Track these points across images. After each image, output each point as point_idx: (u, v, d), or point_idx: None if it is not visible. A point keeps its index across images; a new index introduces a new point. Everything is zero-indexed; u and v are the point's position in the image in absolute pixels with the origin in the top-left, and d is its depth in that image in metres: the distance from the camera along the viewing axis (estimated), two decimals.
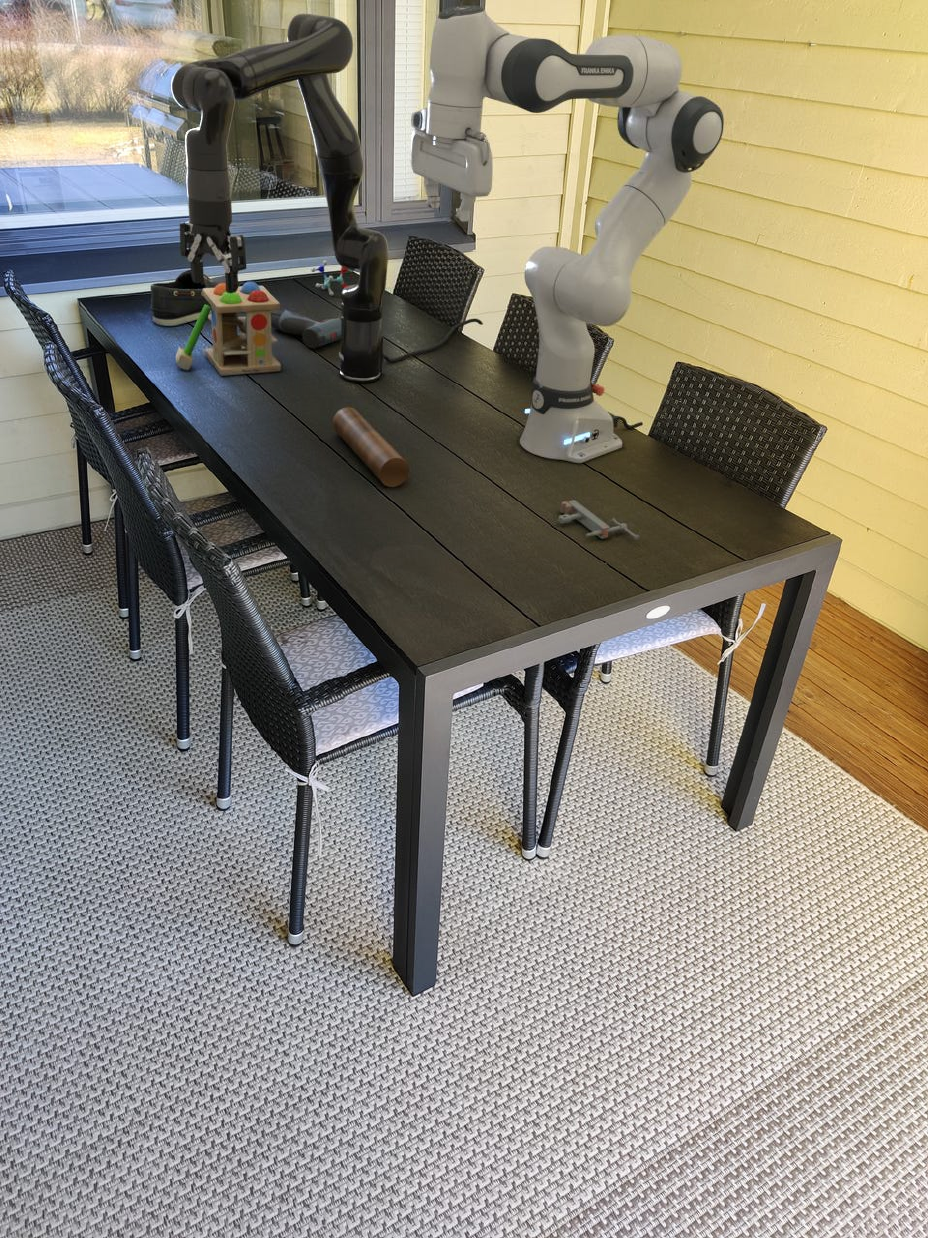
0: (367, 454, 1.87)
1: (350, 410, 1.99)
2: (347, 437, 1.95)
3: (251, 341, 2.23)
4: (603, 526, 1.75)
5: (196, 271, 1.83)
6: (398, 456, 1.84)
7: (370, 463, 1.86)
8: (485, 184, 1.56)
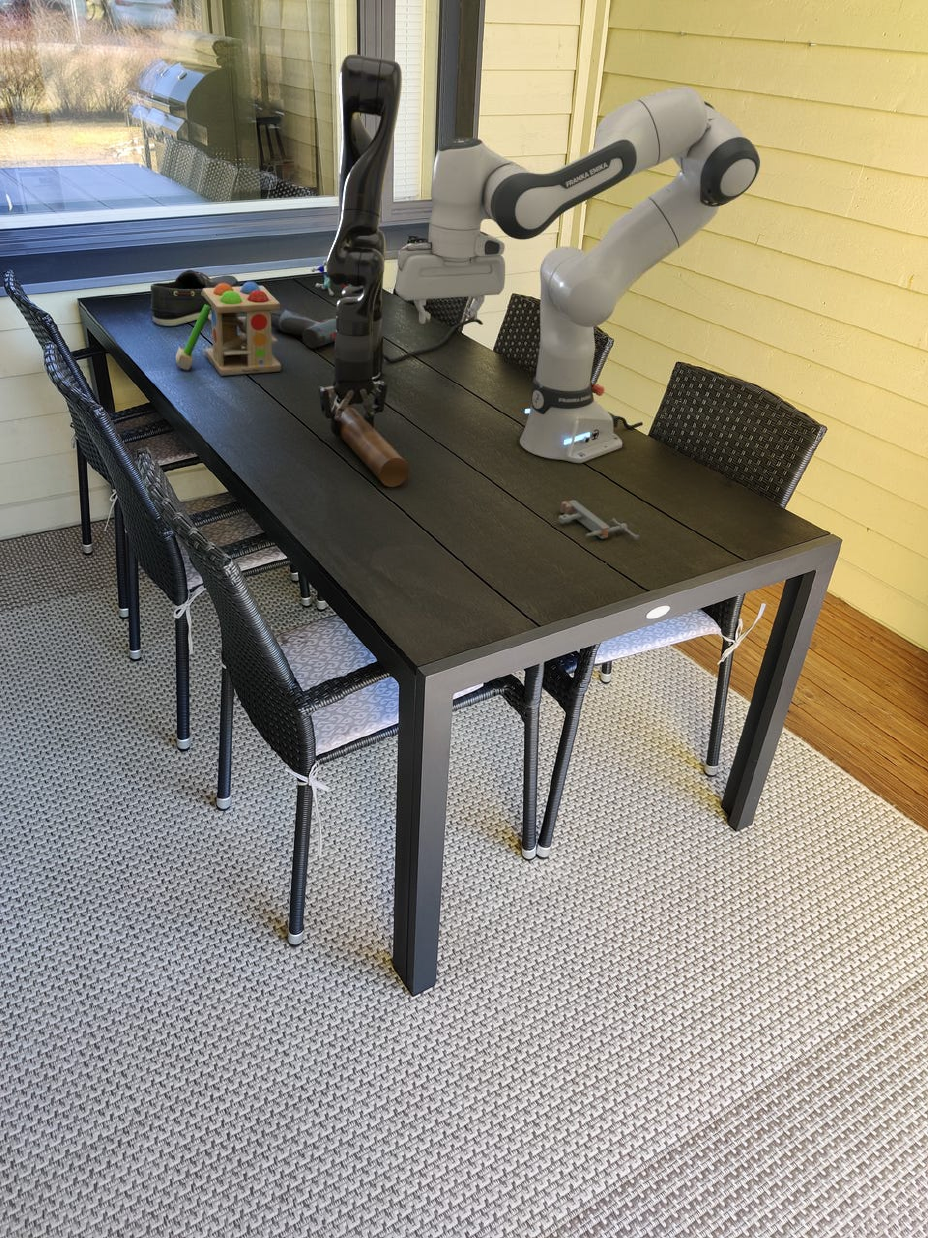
0: (367, 454, 1.87)
1: (350, 410, 1.99)
2: (347, 437, 1.95)
3: (251, 341, 2.23)
4: (603, 526, 1.75)
5: None
6: (398, 456, 1.84)
7: (369, 463, 1.86)
8: (399, 287, 1.69)
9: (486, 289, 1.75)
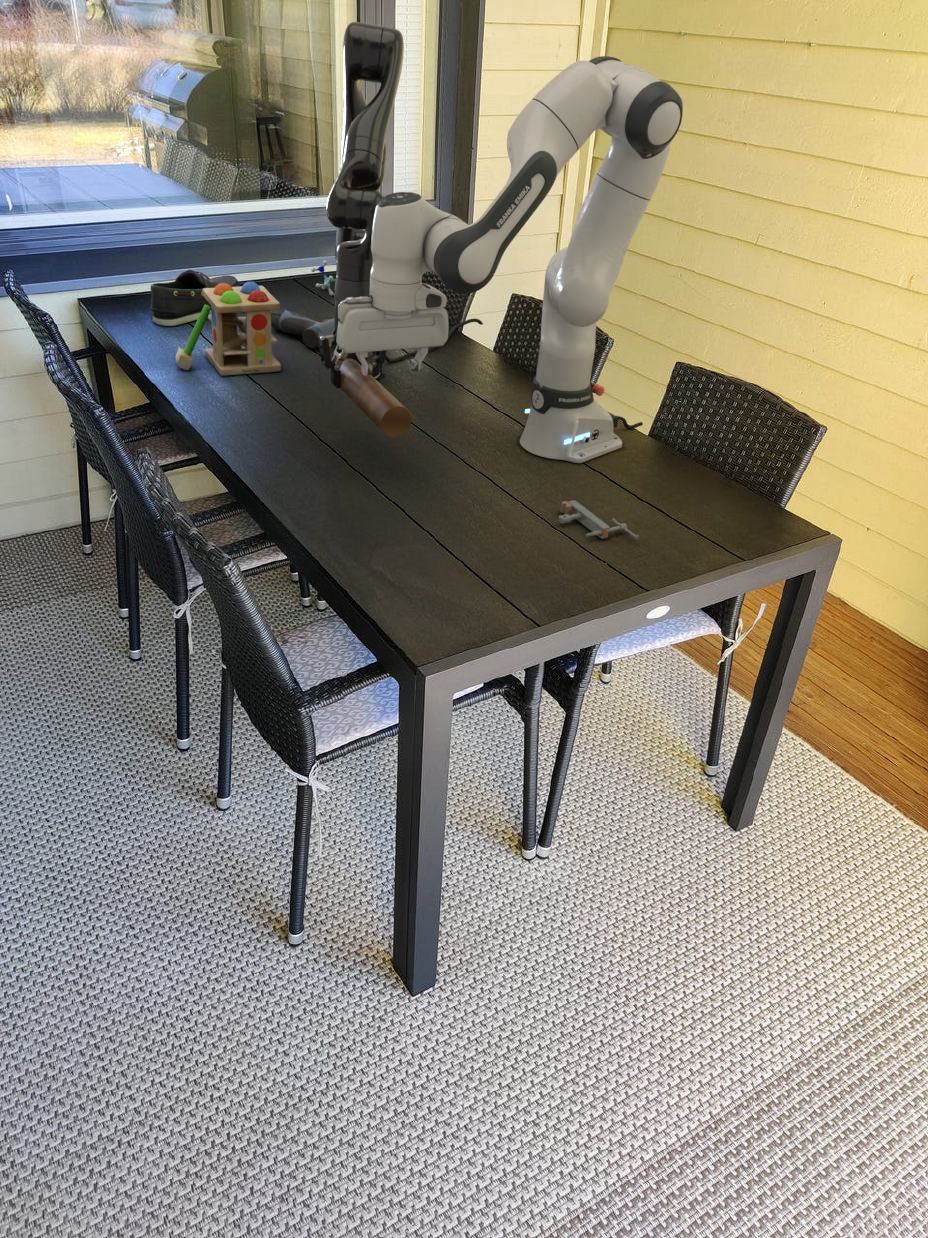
0: (368, 404, 1.81)
1: (351, 361, 1.94)
2: (347, 387, 1.89)
3: (251, 341, 2.23)
4: (603, 526, 1.75)
5: None
6: (400, 405, 1.78)
7: (371, 413, 1.81)
8: (339, 340, 1.68)
9: (429, 341, 1.74)
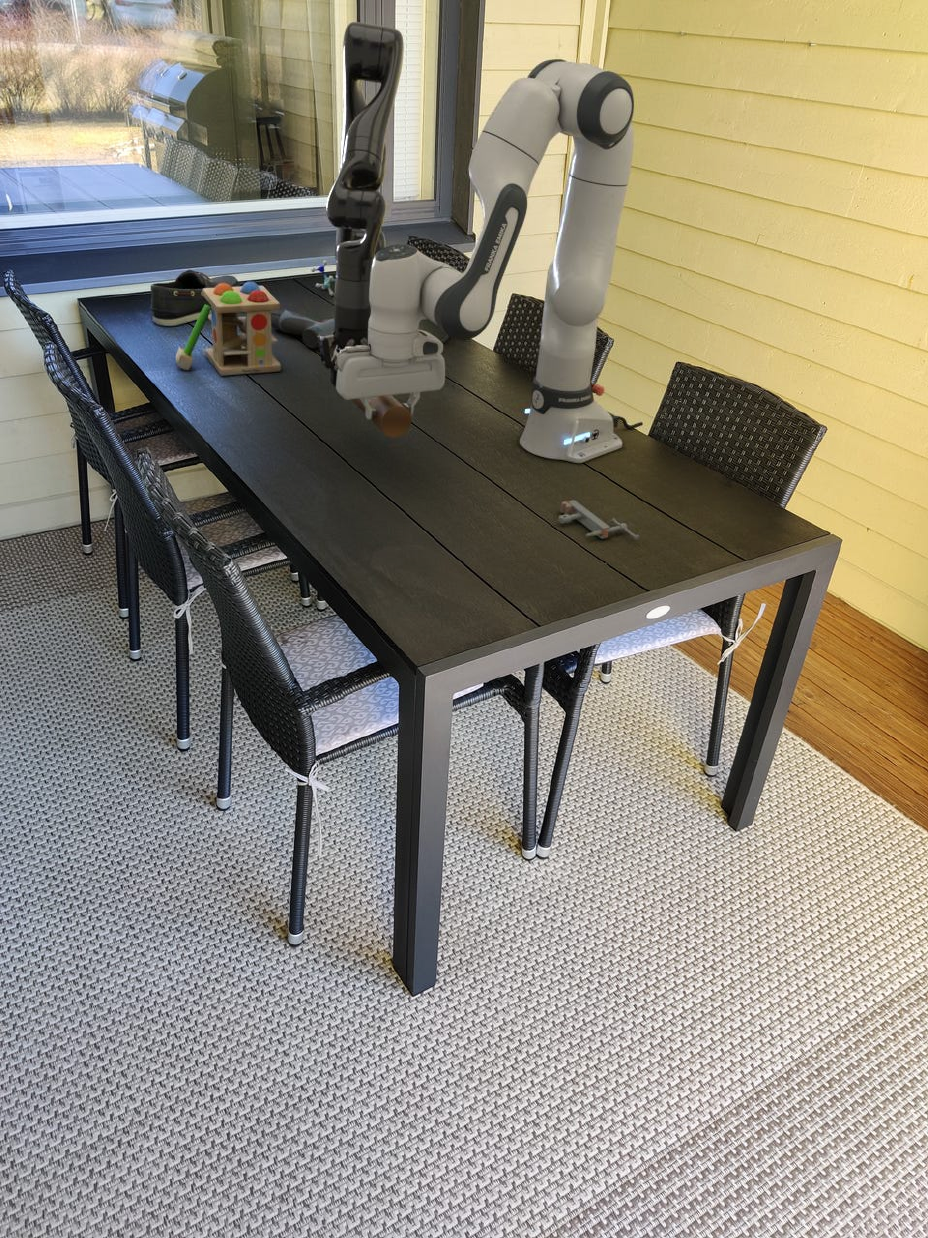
0: None
1: None
2: None
3: (251, 341, 2.23)
4: (603, 526, 1.75)
5: None
6: (400, 405, 1.78)
7: None
8: (339, 387, 1.73)
9: (426, 386, 1.79)
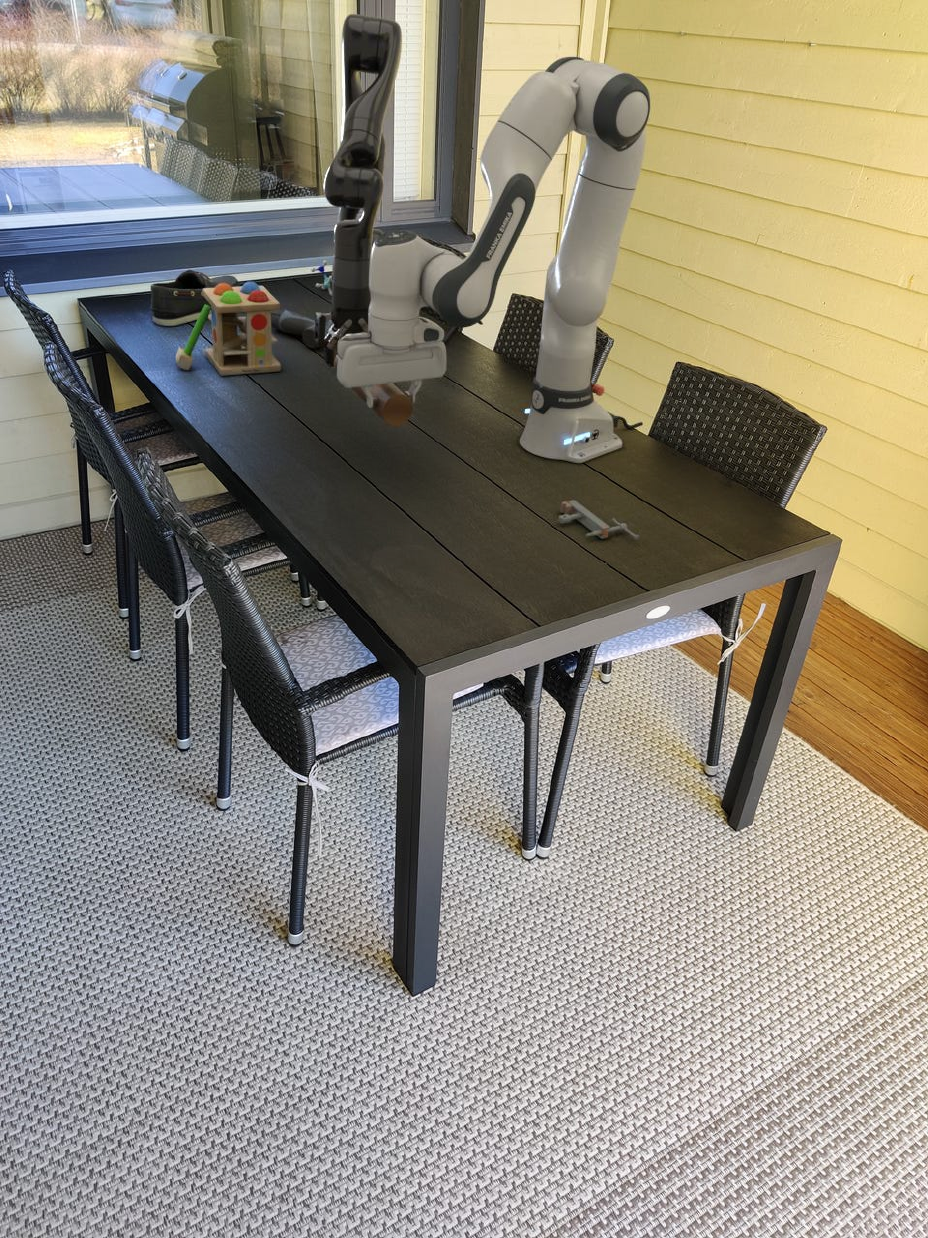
0: None
1: None
2: None
3: (251, 341, 2.23)
4: (603, 526, 1.75)
5: None
6: (401, 393, 1.77)
7: None
8: (340, 375, 1.72)
9: (428, 373, 1.78)
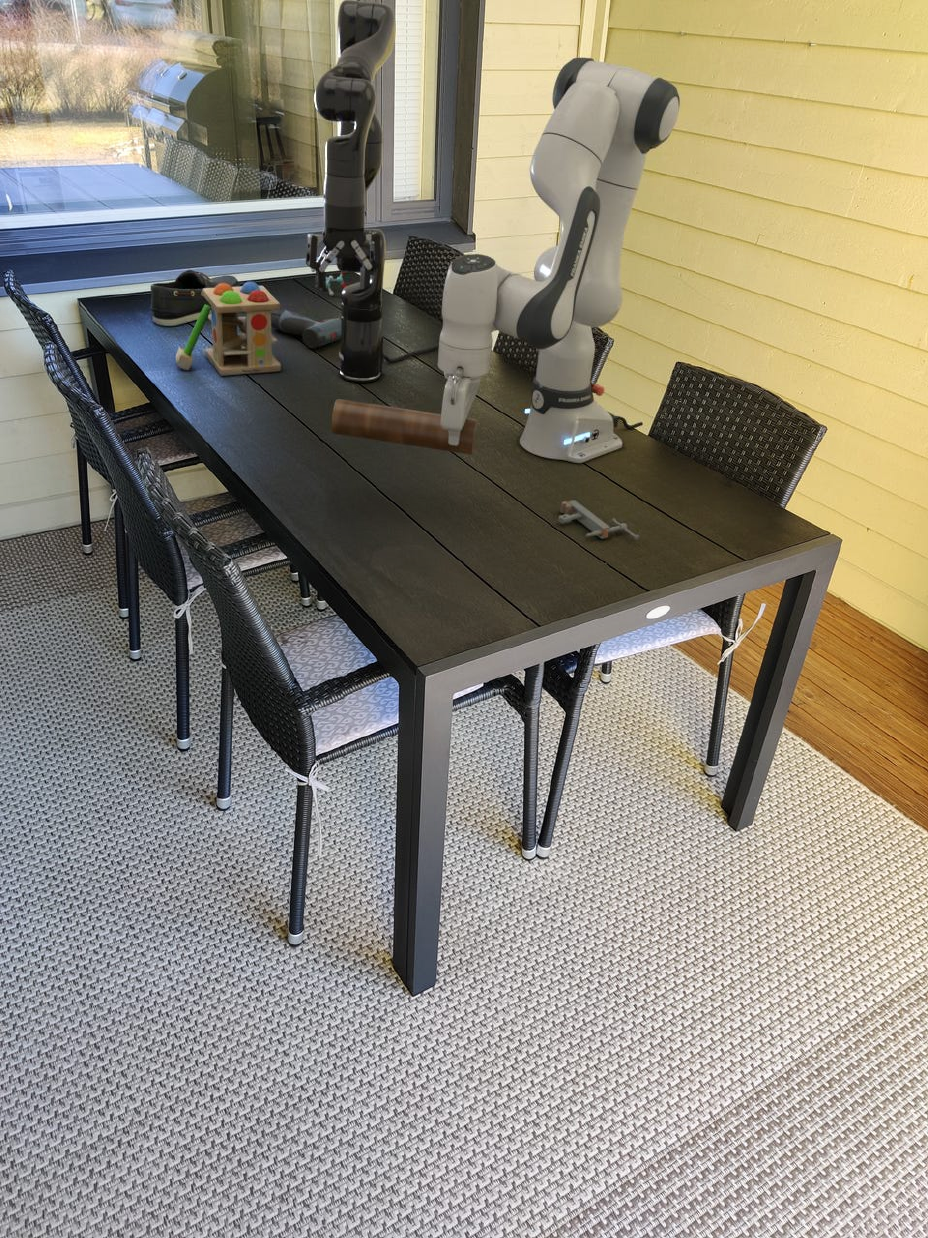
0: (436, 432, 1.69)
1: (346, 401, 1.71)
2: (378, 427, 1.70)
3: (251, 341, 2.23)
4: (603, 526, 1.75)
5: (361, 276, 1.90)
6: (473, 419, 1.70)
7: (445, 439, 1.69)
8: (452, 421, 1.59)
9: (476, 391, 1.73)
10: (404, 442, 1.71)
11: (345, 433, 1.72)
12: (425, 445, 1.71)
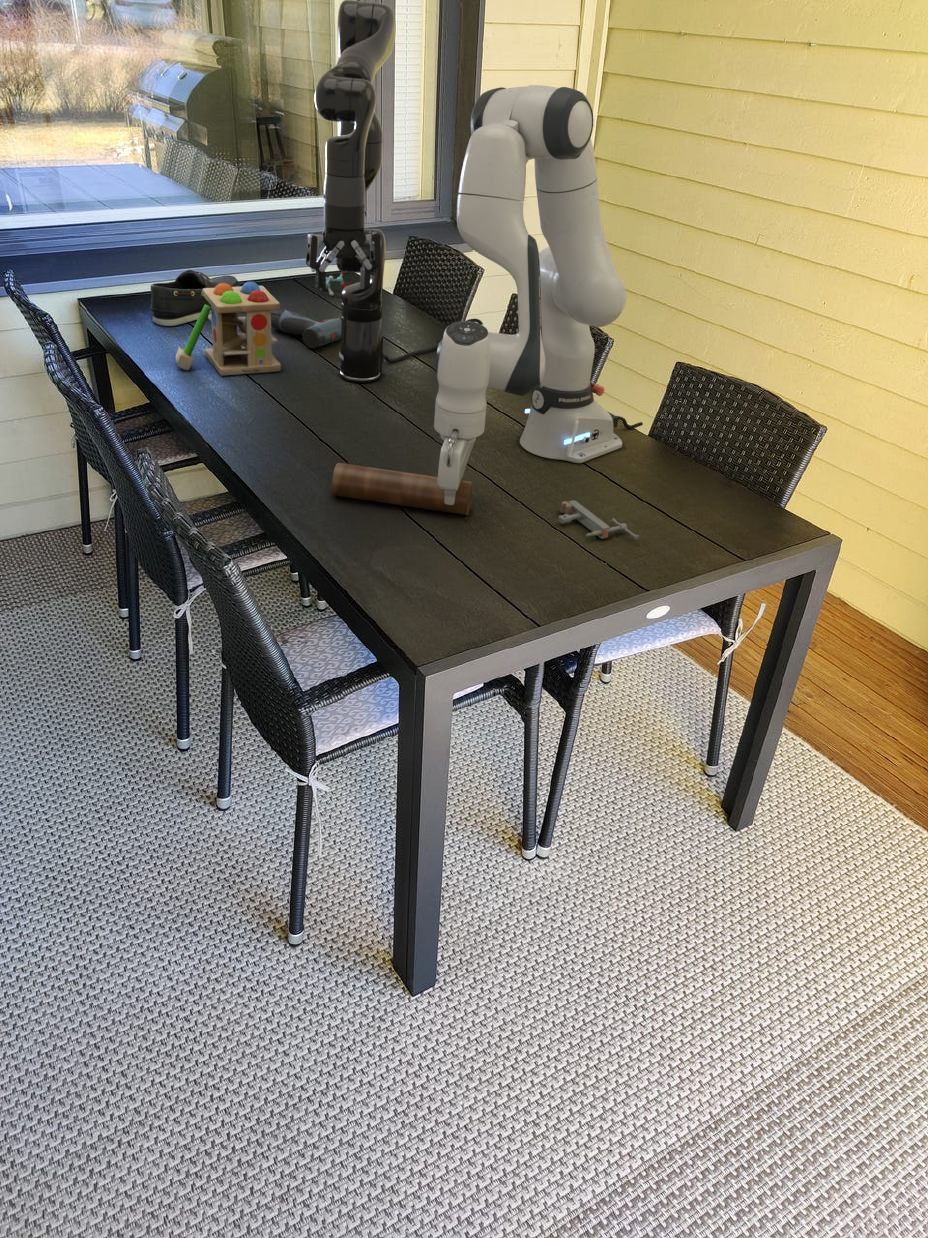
0: (432, 494, 1.76)
1: (346, 465, 1.78)
2: (376, 490, 1.77)
3: (251, 341, 2.23)
4: (603, 526, 1.75)
5: (361, 276, 1.90)
6: (467, 481, 1.77)
7: (441, 502, 1.76)
8: (449, 482, 1.66)
9: (471, 448, 1.79)
10: (402, 504, 1.78)
11: (345, 495, 1.79)
12: (422, 507, 1.78)
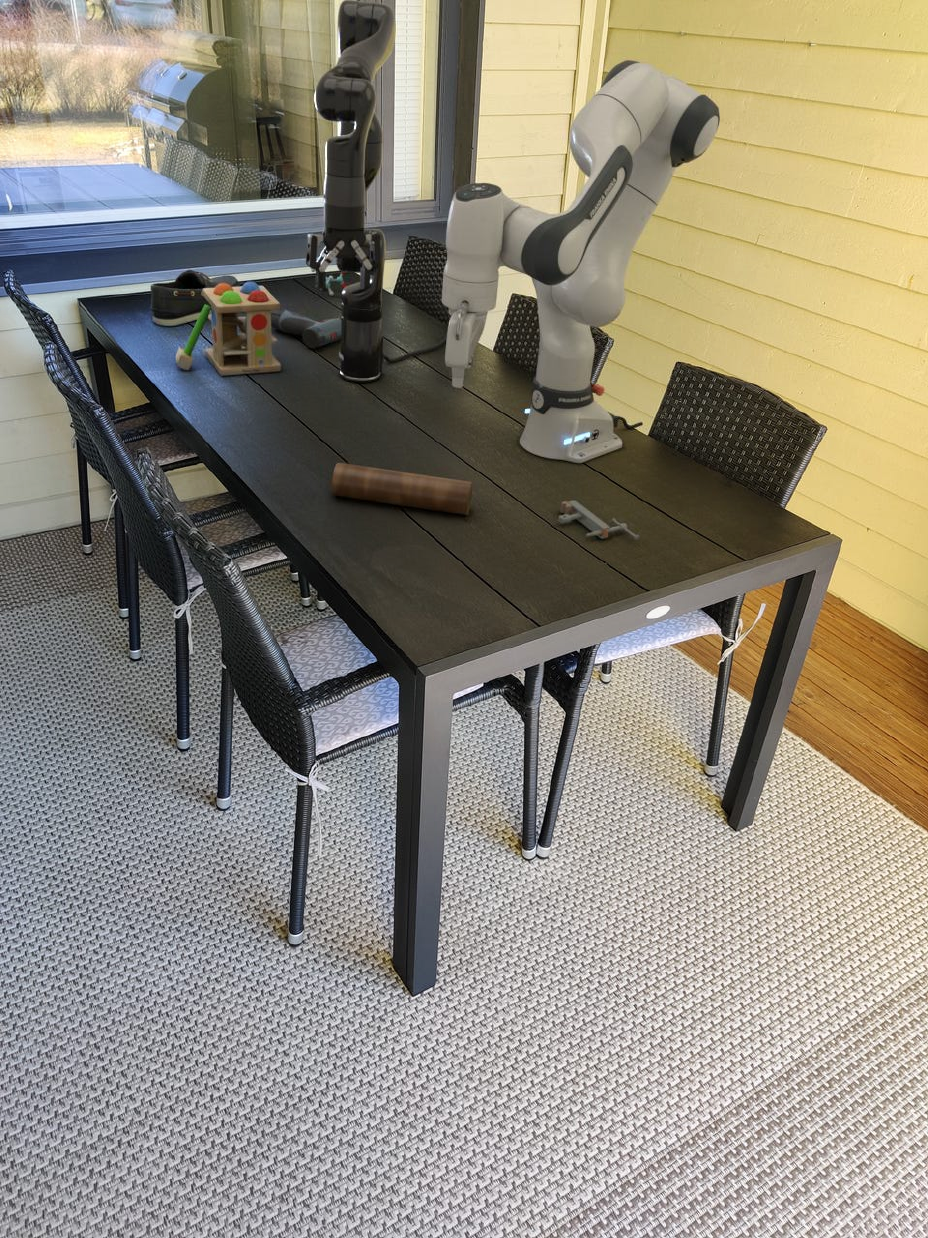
0: (432, 494, 1.76)
1: (346, 465, 1.78)
2: (376, 490, 1.77)
3: (251, 341, 2.23)
4: (603, 526, 1.75)
5: (361, 276, 1.90)
6: (467, 481, 1.77)
7: (441, 502, 1.76)
8: (457, 357, 1.53)
9: (481, 332, 1.67)
10: (402, 504, 1.78)
11: (345, 495, 1.79)
12: (422, 507, 1.78)
